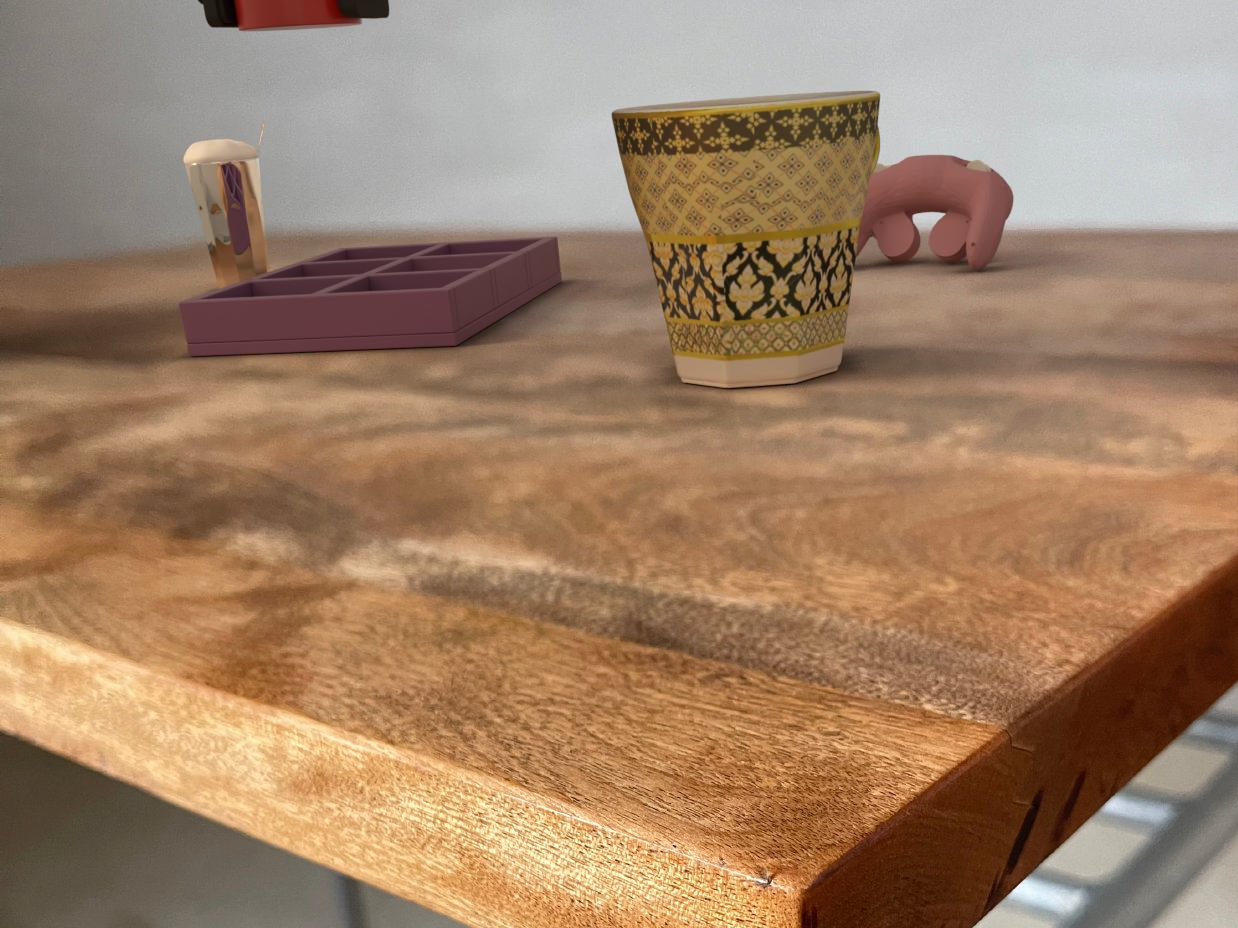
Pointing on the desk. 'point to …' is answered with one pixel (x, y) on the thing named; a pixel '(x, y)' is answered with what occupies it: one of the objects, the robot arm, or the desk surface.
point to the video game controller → (937, 208)
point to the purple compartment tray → (373, 298)
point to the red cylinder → (290, 15)
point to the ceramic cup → (752, 227)
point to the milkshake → (229, 206)
